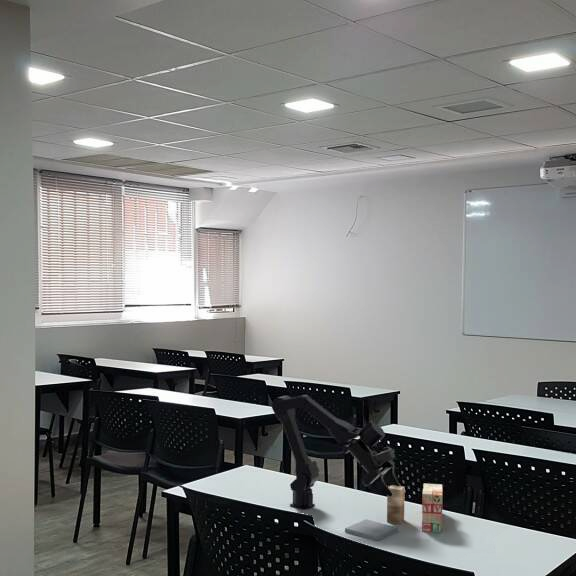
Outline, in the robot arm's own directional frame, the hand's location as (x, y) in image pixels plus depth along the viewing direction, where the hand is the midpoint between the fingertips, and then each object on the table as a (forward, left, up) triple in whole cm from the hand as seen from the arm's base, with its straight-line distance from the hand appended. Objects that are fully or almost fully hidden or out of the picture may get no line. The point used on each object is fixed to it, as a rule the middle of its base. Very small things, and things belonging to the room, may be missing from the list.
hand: (395, 492), depth 238 cm
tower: (0, 0, -9) cm, 9 cm away
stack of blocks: (+10, +7, -10) cm, 16 cm away
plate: (0, -14, -9) cm, 17 cm away
